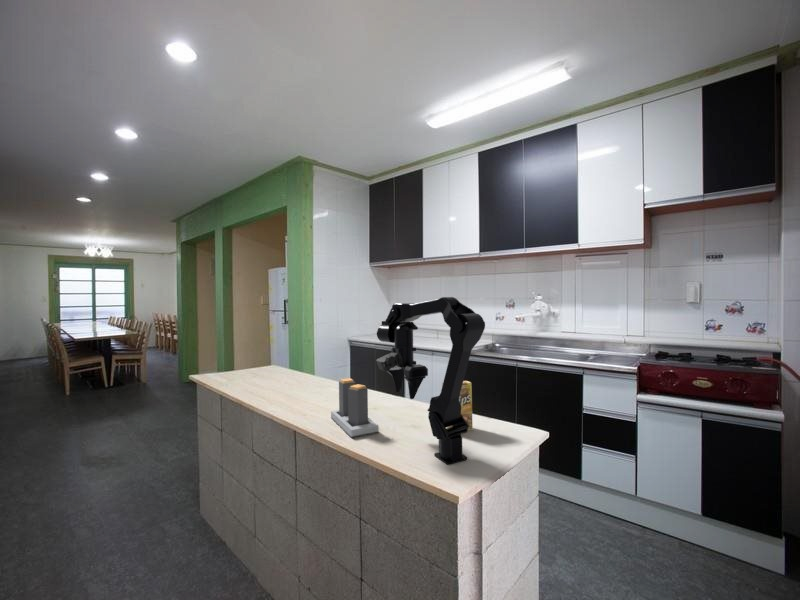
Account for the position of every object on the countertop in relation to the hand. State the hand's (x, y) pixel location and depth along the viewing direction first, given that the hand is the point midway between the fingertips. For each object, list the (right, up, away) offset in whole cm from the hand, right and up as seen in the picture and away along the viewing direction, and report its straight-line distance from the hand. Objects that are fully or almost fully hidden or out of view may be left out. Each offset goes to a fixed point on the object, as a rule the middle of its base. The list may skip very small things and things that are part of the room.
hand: (404, 395), depth 109 cm
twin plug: (-20, -13, +18) cm, 30 cm away
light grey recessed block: (-17, -13, +12) cm, 25 cm away
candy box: (+17, -13, +6) cm, 22 cm away
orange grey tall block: (-15, -13, +8) cm, 21 cm away
